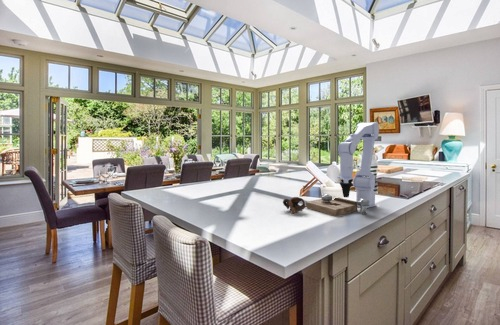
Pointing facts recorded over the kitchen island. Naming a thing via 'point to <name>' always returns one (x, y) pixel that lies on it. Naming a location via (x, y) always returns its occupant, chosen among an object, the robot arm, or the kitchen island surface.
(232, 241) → the kitchen island surface
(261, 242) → the kitchen island surface
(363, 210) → the stepped metal shaft
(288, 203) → the brown animal figurine
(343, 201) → the block
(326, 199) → the seated shaft
